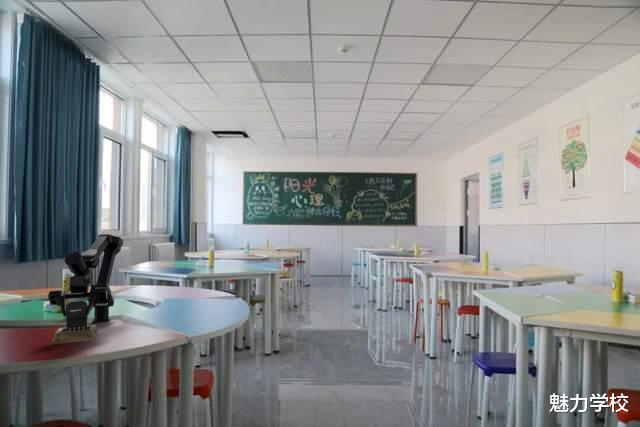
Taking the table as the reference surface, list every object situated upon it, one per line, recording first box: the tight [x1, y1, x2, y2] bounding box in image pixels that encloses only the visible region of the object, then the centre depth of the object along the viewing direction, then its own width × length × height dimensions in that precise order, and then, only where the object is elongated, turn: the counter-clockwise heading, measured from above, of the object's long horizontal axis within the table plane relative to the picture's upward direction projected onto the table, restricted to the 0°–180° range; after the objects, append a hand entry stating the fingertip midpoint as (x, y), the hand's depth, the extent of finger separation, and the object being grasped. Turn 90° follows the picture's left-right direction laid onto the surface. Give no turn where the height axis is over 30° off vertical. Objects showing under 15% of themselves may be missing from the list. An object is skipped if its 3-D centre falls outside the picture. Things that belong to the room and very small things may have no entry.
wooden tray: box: [51, 324, 99, 346], centre depth 147 cm, size 10×13×4 cm
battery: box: [64, 300, 89, 332], centre depth 147 cm, size 7×4×11 cm, turn 115°
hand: (75, 315), depth 146 cm, fingers closed on battery, 7 cm apart
